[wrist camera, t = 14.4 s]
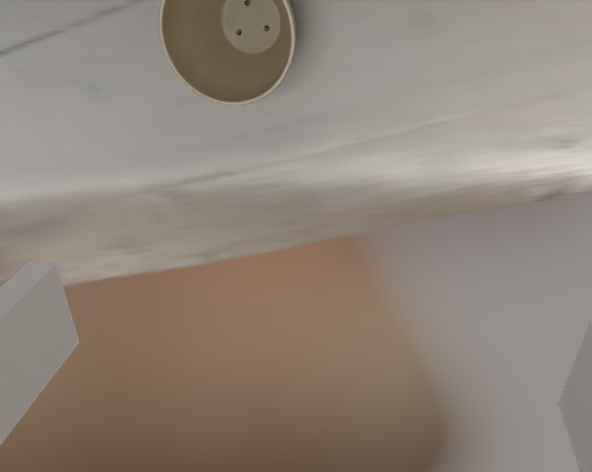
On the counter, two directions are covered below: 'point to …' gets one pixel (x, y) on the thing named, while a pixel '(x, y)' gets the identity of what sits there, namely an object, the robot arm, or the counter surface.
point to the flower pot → (229, 46)
